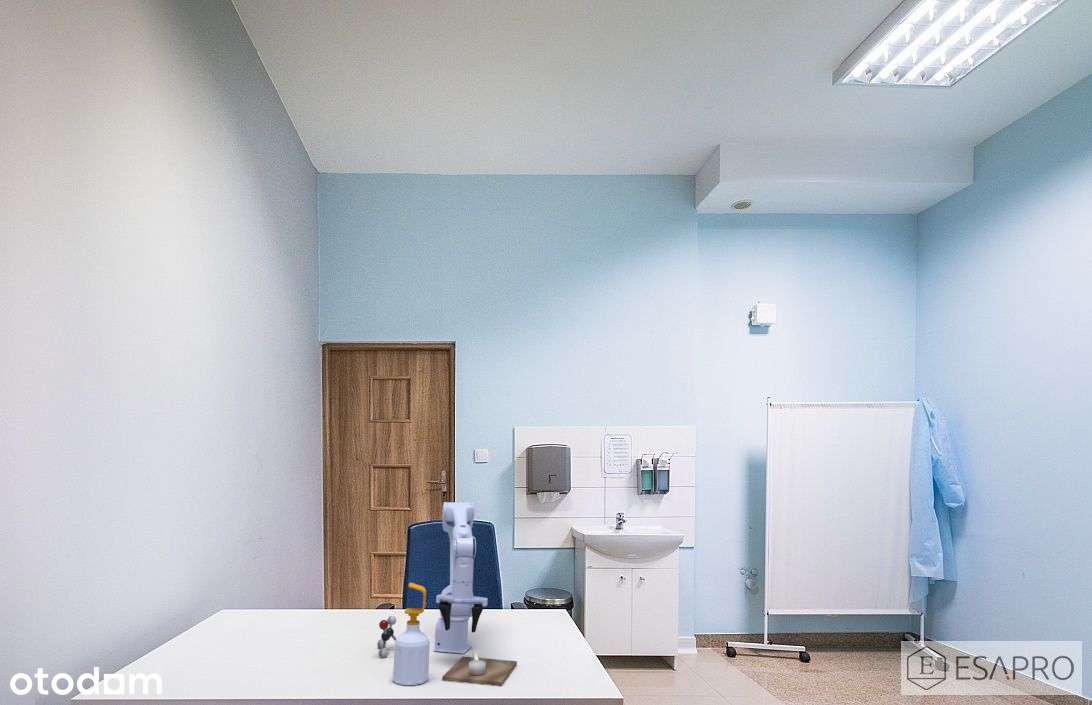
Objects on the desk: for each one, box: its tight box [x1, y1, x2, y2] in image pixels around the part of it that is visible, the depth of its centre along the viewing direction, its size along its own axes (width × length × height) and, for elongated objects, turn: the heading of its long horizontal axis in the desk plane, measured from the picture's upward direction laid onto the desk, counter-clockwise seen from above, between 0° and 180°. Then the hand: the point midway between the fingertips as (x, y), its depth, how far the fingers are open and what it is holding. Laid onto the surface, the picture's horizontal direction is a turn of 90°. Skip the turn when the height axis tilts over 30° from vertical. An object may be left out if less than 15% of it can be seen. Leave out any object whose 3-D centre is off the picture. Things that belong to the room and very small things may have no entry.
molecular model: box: [376, 615, 397, 659], centre depth 214 cm, size 8×12×11 cm
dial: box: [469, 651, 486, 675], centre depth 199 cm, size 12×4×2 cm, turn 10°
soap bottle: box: [392, 582, 431, 686], centre depth 192 cm, size 9×9×25 cm
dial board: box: [441, 655, 518, 687], centre depth 199 cm, size 16×18×1 cm
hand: (460, 630), depth 205 cm, fingers open, 7 cm apart
